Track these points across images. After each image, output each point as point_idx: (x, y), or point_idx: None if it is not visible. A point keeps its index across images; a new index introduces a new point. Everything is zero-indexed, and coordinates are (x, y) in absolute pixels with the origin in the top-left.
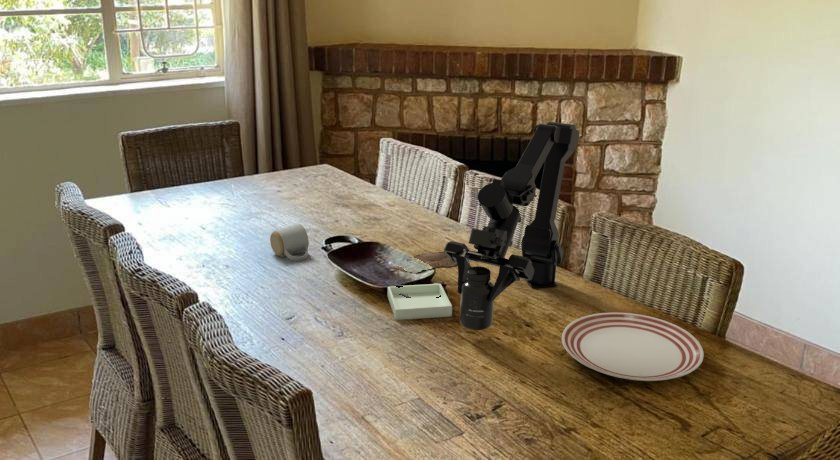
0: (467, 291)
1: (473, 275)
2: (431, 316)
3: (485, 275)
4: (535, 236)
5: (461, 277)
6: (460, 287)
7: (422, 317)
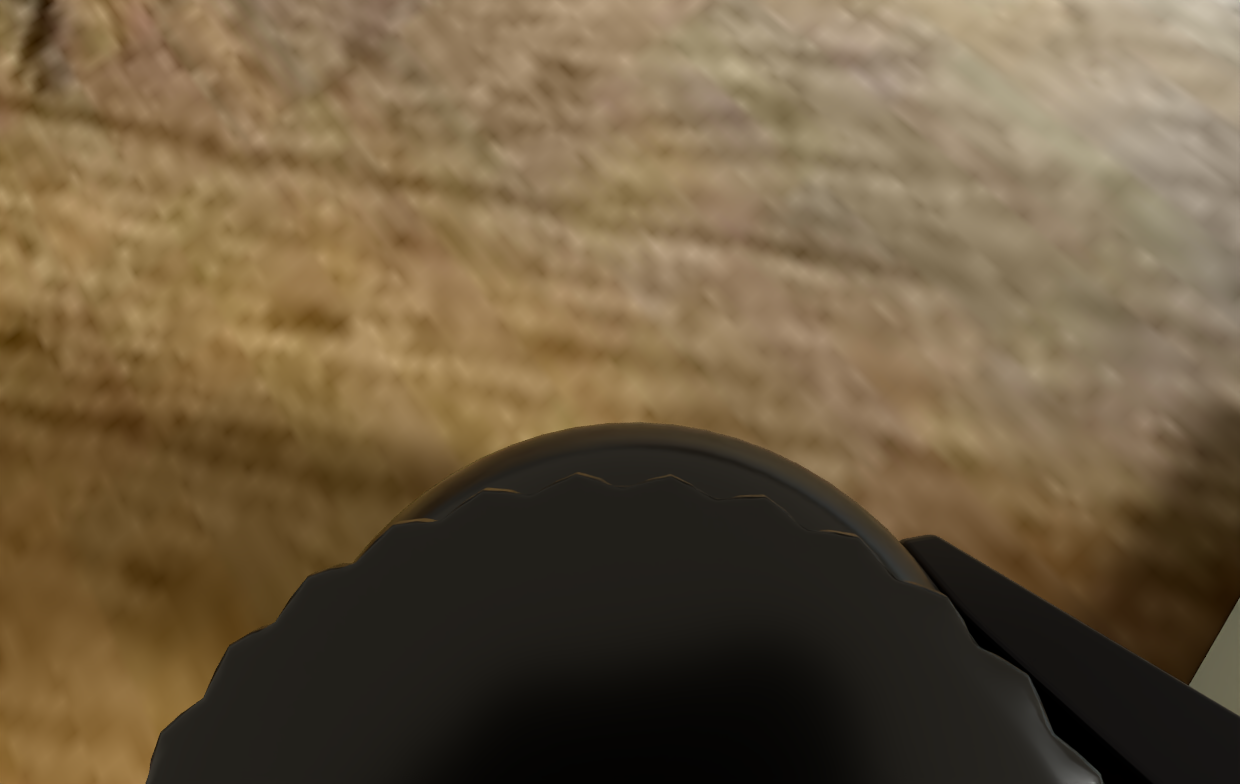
0: (643, 424)
1: (538, 494)
2: None
3: None
4: None
5: (1145, 737)
6: (942, 583)
7: (1229, 625)
